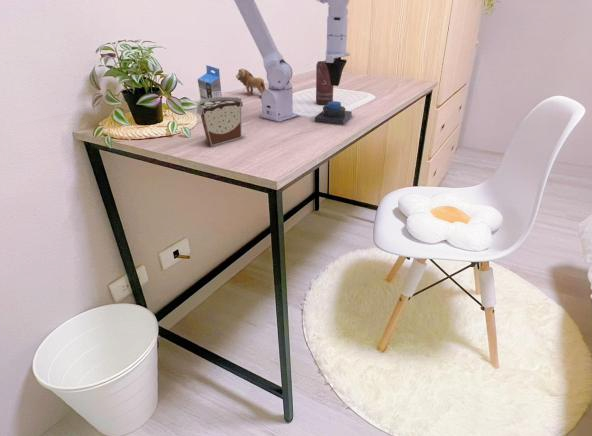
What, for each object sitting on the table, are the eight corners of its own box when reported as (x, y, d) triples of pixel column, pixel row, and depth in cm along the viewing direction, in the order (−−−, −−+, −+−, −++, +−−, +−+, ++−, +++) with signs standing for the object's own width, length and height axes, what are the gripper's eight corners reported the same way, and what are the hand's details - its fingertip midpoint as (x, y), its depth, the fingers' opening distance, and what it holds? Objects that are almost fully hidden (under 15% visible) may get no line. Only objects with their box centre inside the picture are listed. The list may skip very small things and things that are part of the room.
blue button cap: (338, 111, 113) (338, 104, 112) (326, 109, 114) (326, 103, 113) (341, 108, 116) (342, 102, 115) (329, 106, 117) (329, 100, 116)
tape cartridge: (200, 104, 126) (194, 65, 119) (211, 102, 128) (206, 64, 122) (213, 110, 120) (208, 69, 114) (224, 108, 123) (219, 68, 116)
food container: (231, 131, 102) (227, 94, 97) (246, 136, 99) (242, 98, 94) (191, 141, 94) (185, 101, 89) (206, 147, 90) (200, 106, 85)
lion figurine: (235, 94, 141) (233, 68, 136) (244, 91, 145) (242, 67, 140) (266, 99, 135) (265, 73, 131) (275, 96, 139) (274, 71, 135)
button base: (343, 125, 111) (343, 113, 109) (314, 122, 113) (314, 110, 111) (351, 116, 120) (352, 105, 118) (325, 113, 122) (325, 102, 120)
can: (333, 106, 131) (334, 63, 123) (315, 105, 131) (315, 62, 123) (333, 101, 136) (335, 61, 129) (316, 101, 136) (317, 60, 129)
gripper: (344, 38, 97) (341, 91, 104) (356, 34, 110) (353, 82, 117) (318, 36, 99) (318, 89, 106) (333, 33, 111) (331, 80, 118)
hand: (334, 85), depth 111 cm, fingers closed
